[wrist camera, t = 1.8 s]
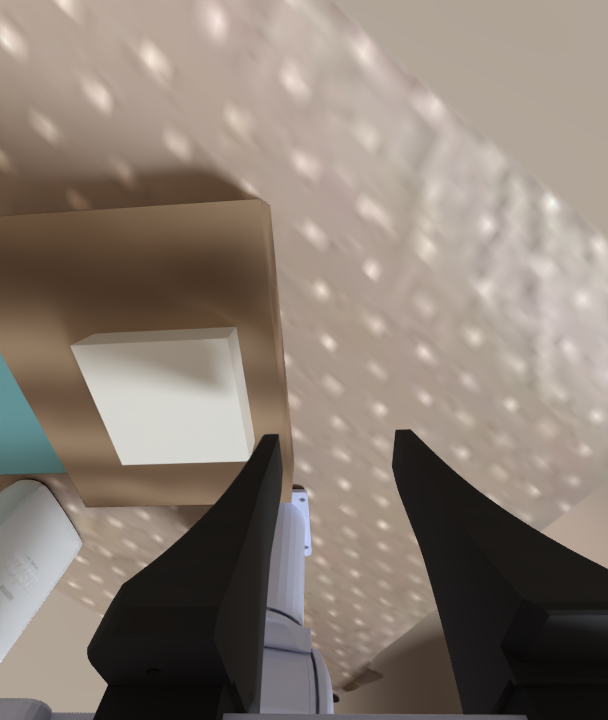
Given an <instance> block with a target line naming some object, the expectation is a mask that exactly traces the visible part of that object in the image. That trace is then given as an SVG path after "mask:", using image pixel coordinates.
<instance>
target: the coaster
mask: <svg viewBox="0 0 608 720" xmlns="http://www.w3.org/2000/svg"><path fill="white" fill-rule="evenodd" d="M70 347H71V349H72V351H73V354H74V356H75V358H76V360H77V363H78V365H79V367H80V370H81V372H82V374H83V376H84V379H85V381H86V383H87V386H88V388H89V390H90V392H91V395H92V397H93V399H94V402H95V404H96V406H97V408H98V411H99V413H100V415H101V418H102V420H103V422H104V424H105V427H106V429H107V431H108V434H109V436H110V438H111V440H112V443H113V445H114V447H115V450H116V452H117V454H118V456H119V459H120V461H121V463H122V465H141V464H174V463H207V462H241V461H248V460H249V458H250V456H251V455H252V451H253V447H254V443H255V438H254V432H253V426H252V420H251V414H250V408H249V401H248V395H247V389H246V383H245V377H244V371H243V365H242V359H241V353H240V347H239V341H238V335H237V328H236V327H220V328H200V329H179V330H158V331H138V332H117V333H97V334H93V335H91V336H89V337H87V338H85V339H83V340H81V341H79V342H77V343H75V344H73V345H71V346H70Z"/></svg>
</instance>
